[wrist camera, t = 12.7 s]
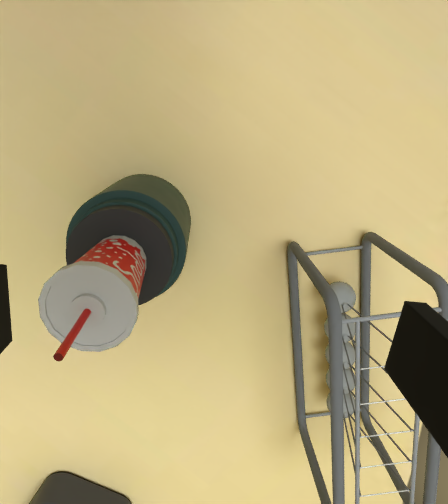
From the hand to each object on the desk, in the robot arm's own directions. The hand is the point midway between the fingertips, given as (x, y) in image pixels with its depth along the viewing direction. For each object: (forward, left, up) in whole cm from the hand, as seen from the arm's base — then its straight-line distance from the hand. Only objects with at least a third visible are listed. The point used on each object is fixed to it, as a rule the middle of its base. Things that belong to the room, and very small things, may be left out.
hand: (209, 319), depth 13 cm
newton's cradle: (+12, +24, -34) cm, 43 cm away
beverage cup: (+8, -5, -20) cm, 22 cm away
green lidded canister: (+8, -5, -33) cm, 35 cm away
